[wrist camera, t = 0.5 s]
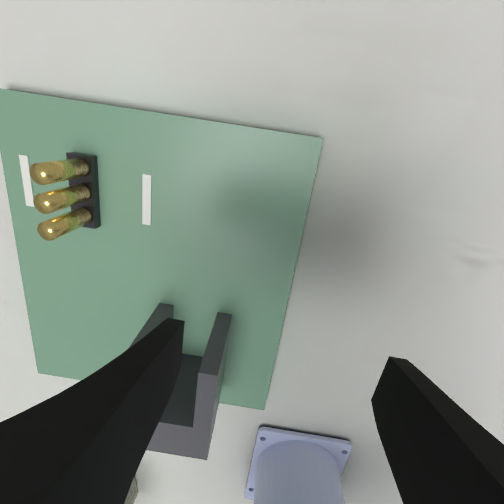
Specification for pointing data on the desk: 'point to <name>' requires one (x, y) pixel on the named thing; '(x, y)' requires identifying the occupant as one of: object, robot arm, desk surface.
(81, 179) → the pin header
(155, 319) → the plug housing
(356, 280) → the desk surface
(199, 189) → the circuit board
